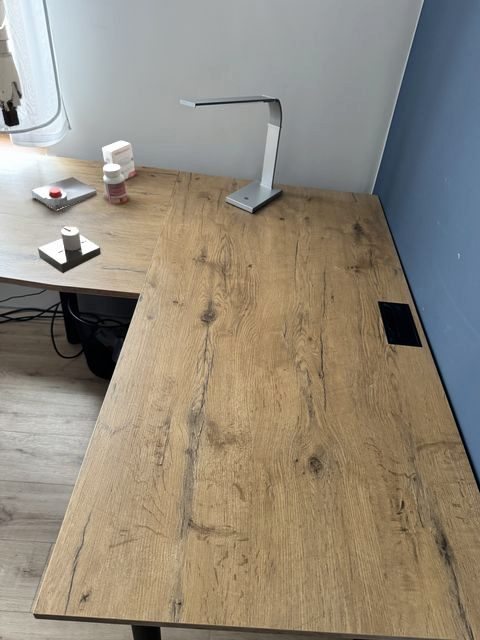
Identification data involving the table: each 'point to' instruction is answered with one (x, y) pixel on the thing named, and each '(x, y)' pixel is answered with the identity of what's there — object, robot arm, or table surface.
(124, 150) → the ink box
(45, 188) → the block
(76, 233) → the hob knob
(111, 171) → the pill bottle
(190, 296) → the table surface
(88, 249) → the base plate
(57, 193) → the button
